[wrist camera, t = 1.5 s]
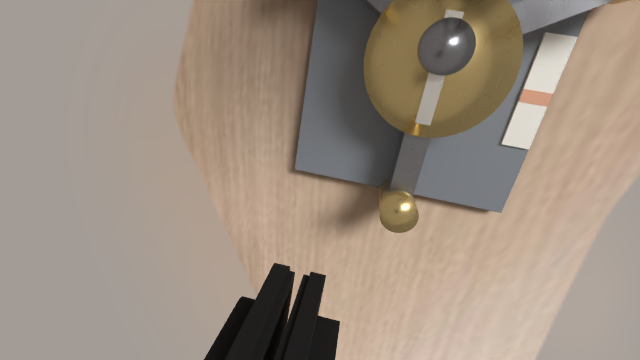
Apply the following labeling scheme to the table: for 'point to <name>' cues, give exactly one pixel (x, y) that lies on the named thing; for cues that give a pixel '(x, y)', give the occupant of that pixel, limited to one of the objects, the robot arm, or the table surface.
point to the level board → (444, 152)
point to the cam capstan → (444, 75)
